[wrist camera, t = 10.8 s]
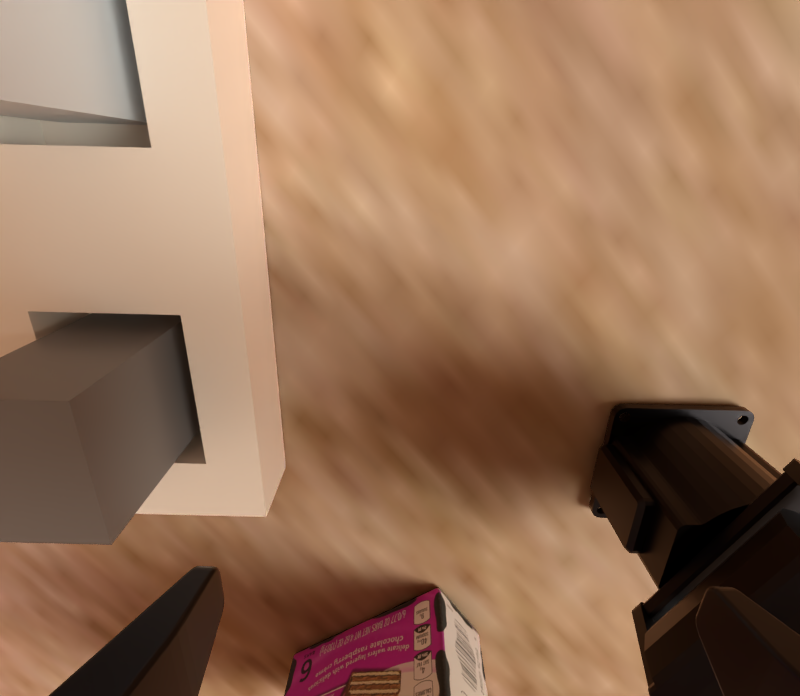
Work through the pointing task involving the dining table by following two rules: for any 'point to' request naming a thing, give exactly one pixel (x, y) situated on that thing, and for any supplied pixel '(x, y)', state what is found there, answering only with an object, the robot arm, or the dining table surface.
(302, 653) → the candy bar box
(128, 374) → the twin plug
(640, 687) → the dining table surface
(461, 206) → the dining table surface
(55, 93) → the plug
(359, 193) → the dining table surface
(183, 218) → the power strip
